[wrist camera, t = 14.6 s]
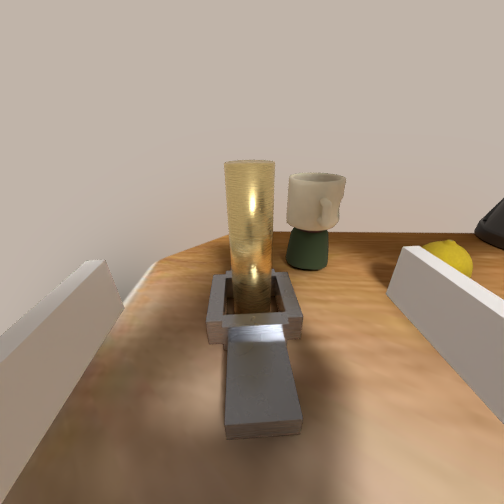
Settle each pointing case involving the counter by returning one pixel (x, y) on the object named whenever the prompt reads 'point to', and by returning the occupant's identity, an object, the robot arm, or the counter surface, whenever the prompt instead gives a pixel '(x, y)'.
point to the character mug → (312, 217)
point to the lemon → (451, 255)
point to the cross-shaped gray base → (257, 360)
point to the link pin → (250, 232)
